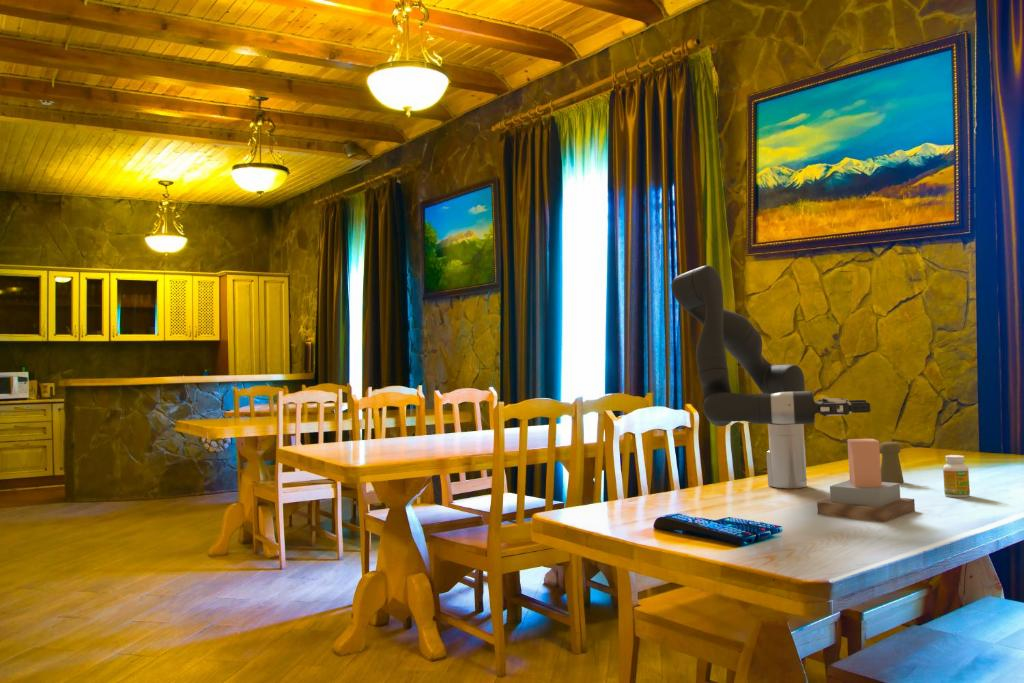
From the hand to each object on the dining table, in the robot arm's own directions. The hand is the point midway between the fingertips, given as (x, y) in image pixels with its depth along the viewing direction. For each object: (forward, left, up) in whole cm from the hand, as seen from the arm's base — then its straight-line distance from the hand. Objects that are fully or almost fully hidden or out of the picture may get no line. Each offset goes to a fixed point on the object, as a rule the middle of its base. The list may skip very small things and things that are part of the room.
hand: (868, 405), depth 181 cm
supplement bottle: (+6, +30, -24) cm, 39 cm away
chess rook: (-15, +42, -24) cm, 51 cm away
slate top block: (-2, -1, -21) cm, 21 cm away
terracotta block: (-1, -1, -18) cm, 18 cm away
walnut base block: (-1, -1, -25) cm, 25 cm away
